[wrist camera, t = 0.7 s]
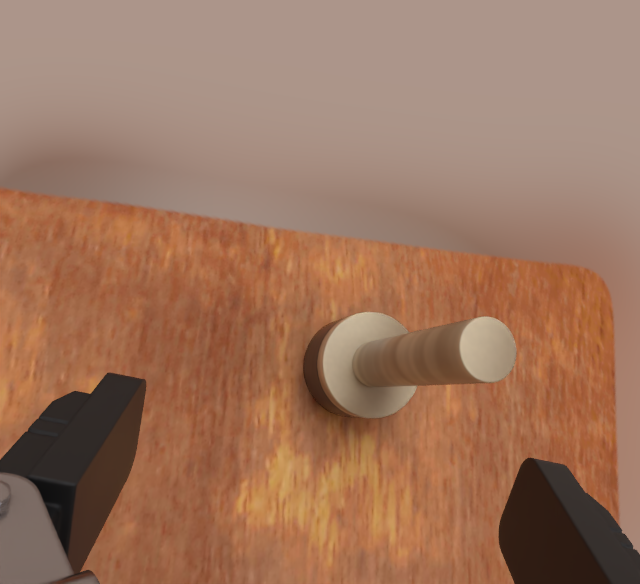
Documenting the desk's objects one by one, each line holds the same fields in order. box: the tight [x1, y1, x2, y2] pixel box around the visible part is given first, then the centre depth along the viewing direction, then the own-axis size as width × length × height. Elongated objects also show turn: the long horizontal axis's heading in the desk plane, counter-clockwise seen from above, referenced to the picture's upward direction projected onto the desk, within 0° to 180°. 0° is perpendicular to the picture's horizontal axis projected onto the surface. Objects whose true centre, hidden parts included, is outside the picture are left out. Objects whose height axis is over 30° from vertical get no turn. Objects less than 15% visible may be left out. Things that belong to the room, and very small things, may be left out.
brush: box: [304, 312, 516, 419], centre depth 28 cm, size 6×6×14 cm
